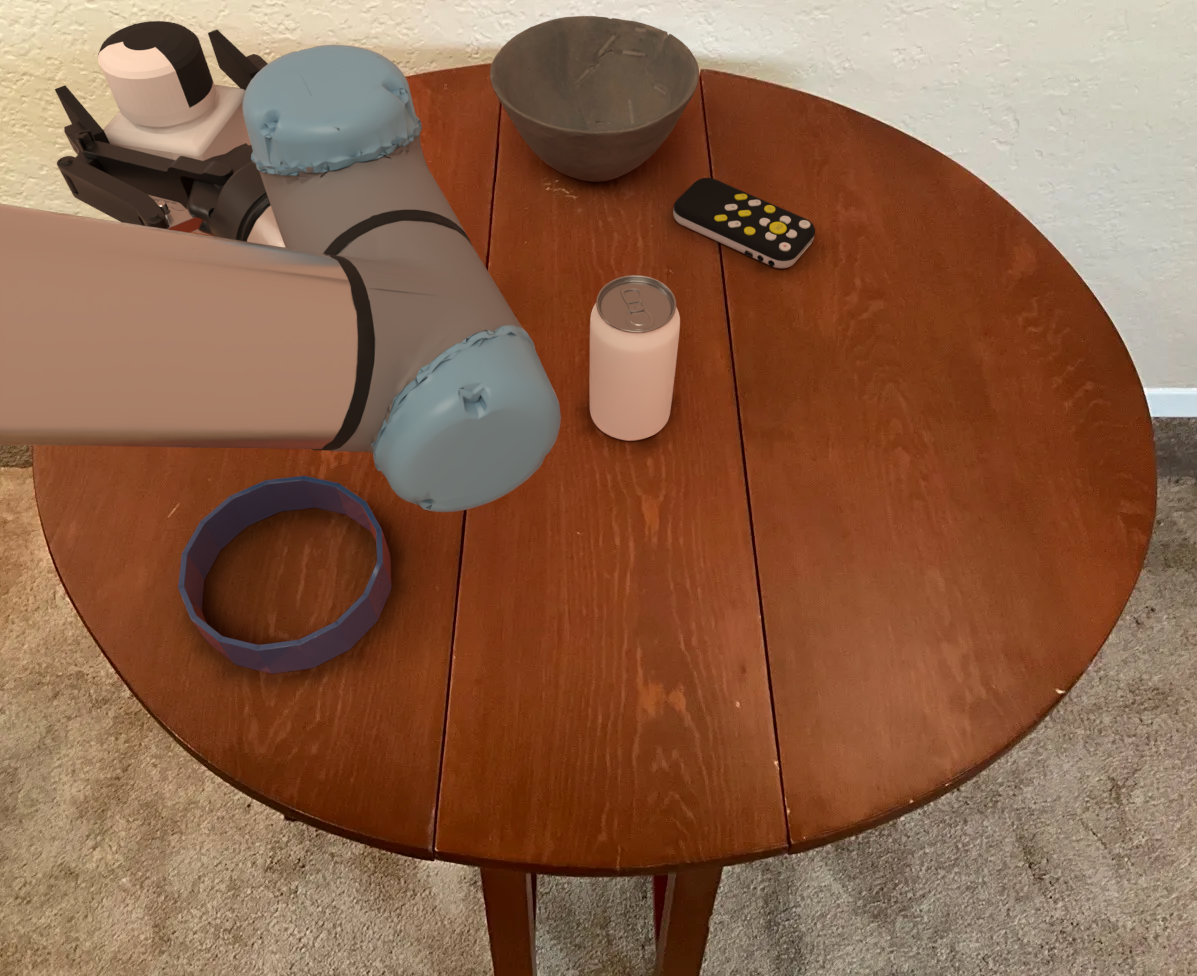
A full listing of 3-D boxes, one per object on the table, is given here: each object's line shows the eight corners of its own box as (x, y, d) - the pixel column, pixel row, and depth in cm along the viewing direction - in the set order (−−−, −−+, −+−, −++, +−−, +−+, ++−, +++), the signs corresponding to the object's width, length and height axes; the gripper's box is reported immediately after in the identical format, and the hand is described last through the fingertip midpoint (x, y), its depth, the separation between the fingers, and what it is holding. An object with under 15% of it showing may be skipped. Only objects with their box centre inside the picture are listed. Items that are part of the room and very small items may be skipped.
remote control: (700, 186, 93) (703, 169, 92) (818, 238, 89) (822, 221, 88) (666, 221, 90) (667, 203, 89) (786, 276, 86) (790, 259, 85)
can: (598, 449, 75) (600, 342, 65) (582, 387, 79) (581, 277, 69) (679, 437, 76) (692, 329, 66) (659, 376, 79) (669, 265, 70)
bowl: (722, 142, 97) (734, 48, 89) (629, 250, 88) (633, 156, 80) (565, 85, 103) (563, -8, 95) (461, 181, 93) (449, 87, 85)
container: (185, 162, 77) (120, 0, 66) (276, 177, 76) (225, 15, 65) (137, 225, 72) (59, 63, 62) (233, 241, 71) (171, 80, 61)
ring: (189, 685, 64) (169, 662, 61) (204, 516, 71) (188, 488, 68) (394, 657, 65) (385, 633, 62) (388, 494, 72) (380, 466, 69)
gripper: (143, 369, 58) (9, 184, 68) (461, 212, 66) (302, 67, 76) (90, 275, 52) (-49, 86, 61) (448, 115, 60) (277, -29, 70)
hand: (145, 76), depth 69 cm, fingers closed on container, 10 cm apart
